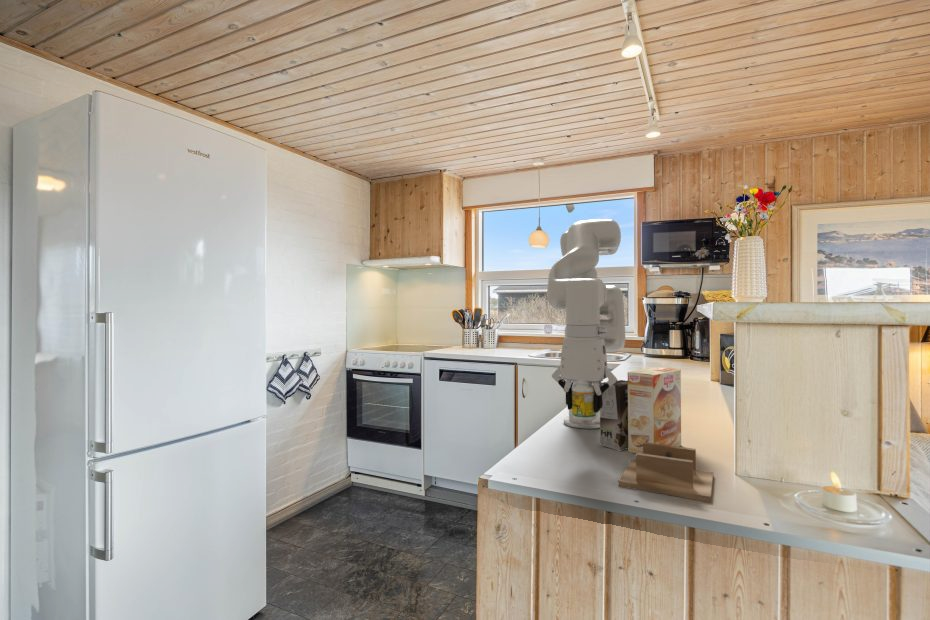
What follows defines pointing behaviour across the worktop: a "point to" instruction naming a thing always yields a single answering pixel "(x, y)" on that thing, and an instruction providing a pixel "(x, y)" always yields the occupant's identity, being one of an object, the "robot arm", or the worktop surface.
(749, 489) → the worktop surface
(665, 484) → the holder
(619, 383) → the coffee box
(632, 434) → the coffeecake box
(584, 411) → the supplement bottle
